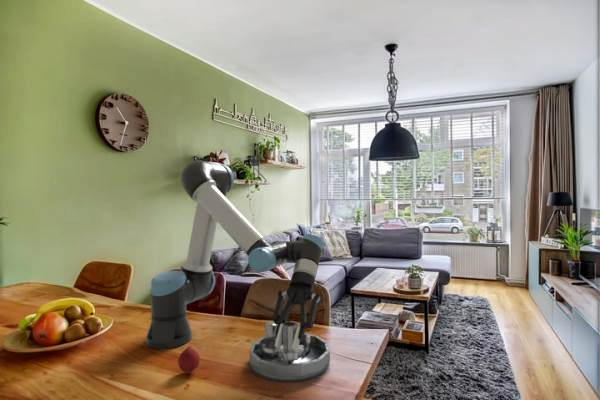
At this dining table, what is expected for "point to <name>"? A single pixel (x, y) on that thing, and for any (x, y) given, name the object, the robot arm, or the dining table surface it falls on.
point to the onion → (188, 360)
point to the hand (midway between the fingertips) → (285, 349)
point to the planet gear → (290, 343)
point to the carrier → (289, 371)
